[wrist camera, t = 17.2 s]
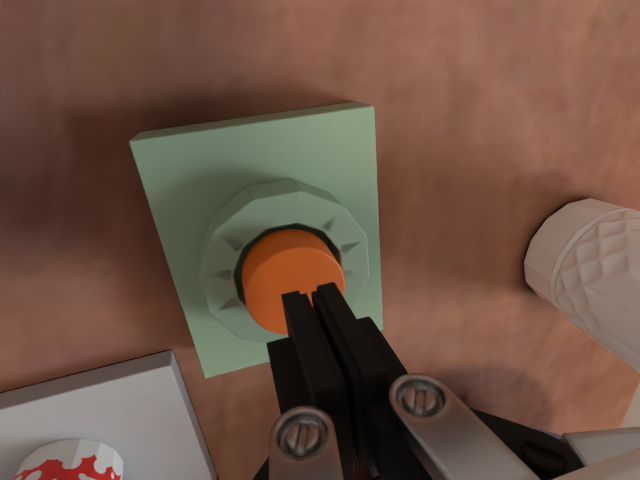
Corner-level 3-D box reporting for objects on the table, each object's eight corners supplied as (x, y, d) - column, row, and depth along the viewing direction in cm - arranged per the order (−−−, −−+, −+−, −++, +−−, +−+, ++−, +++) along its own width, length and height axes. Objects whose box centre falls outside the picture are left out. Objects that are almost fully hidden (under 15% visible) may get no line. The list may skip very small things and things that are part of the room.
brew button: (232, 238, 14) (235, 259, 12) (327, 219, 14) (341, 237, 13) (250, 318, 15) (255, 346, 14) (335, 297, 16) (349, 321, 14)
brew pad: (138, 131, 15) (116, 150, 11) (354, 101, 16) (395, 109, 13) (205, 348, 19) (204, 410, 16) (367, 307, 21) (399, 353, 18)
